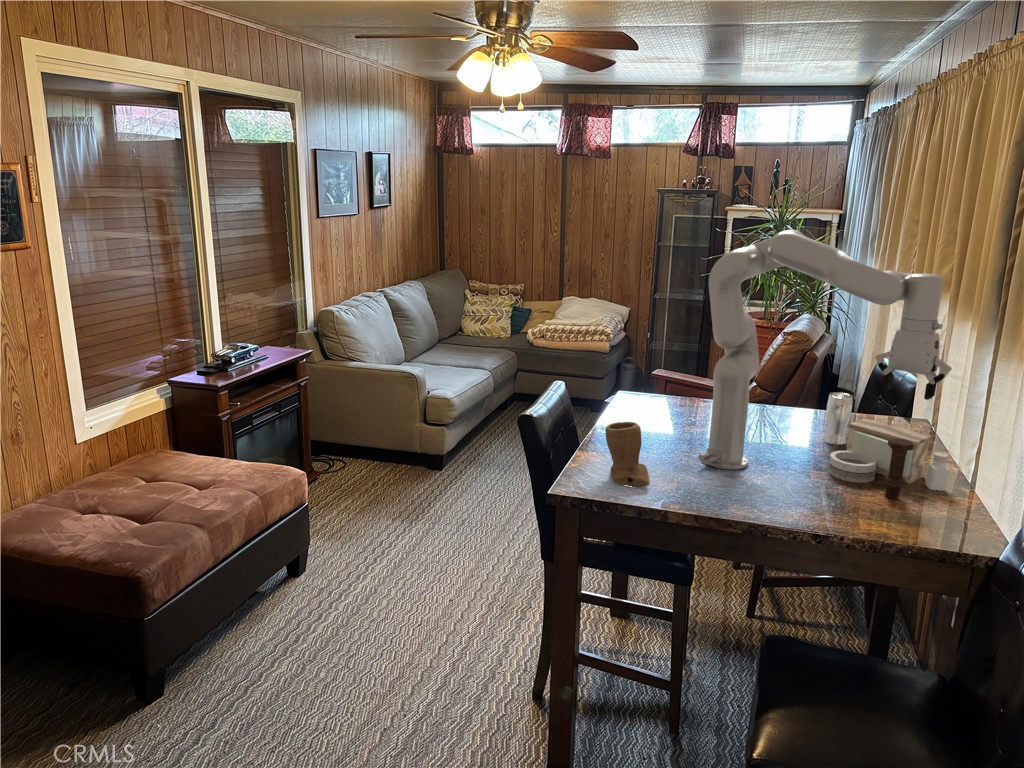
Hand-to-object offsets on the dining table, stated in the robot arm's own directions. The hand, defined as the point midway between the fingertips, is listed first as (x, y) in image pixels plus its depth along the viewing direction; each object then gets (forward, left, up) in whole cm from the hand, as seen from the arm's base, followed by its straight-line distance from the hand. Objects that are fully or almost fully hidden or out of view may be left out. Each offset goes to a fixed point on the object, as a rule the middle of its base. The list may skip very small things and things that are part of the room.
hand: (907, 394), depth 179 cm
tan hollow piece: (-48, +48, -27) cm, 72 cm away
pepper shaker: (+15, -5, -27) cm, 31 cm away
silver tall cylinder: (+27, +31, -27) cm, 49 cm away
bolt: (-1, 0, -27) cm, 27 cm away
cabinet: (+10, +10, -27) cm, 31 cm away
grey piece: (+5, +10, -24) cm, 27 cm away
